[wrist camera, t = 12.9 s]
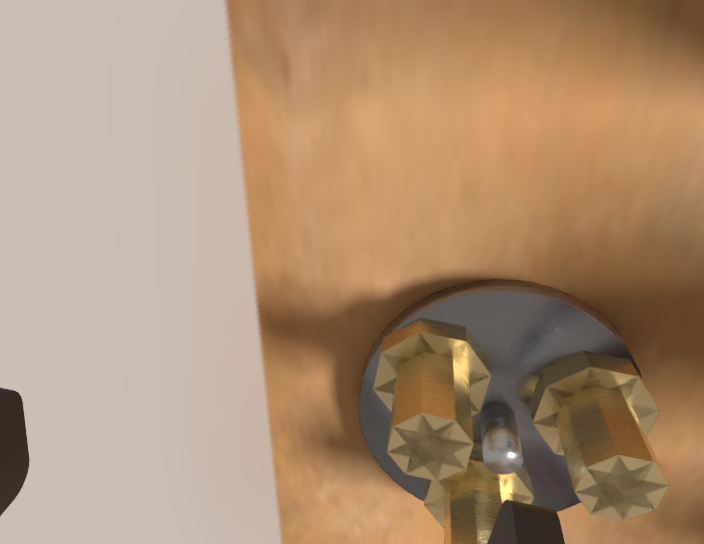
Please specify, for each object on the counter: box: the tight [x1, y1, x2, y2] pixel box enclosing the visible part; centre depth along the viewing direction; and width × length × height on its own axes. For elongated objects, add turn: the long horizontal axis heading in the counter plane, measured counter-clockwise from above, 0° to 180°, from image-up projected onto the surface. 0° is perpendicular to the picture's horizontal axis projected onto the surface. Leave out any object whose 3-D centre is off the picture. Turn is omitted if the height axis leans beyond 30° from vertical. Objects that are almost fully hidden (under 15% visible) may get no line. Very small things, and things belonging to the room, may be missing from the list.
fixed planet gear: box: [529, 350, 669, 521], centre depth 35 cm, size 7×7×8 cm
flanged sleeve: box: [424, 443, 534, 544], centre depth 39 cm, size 7×7×8 cm
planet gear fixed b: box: [373, 317, 491, 481], centre depth 36 cm, size 7×7×8 cm
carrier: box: [359, 280, 642, 512], centre depth 39 cm, size 19×19×6 cm
